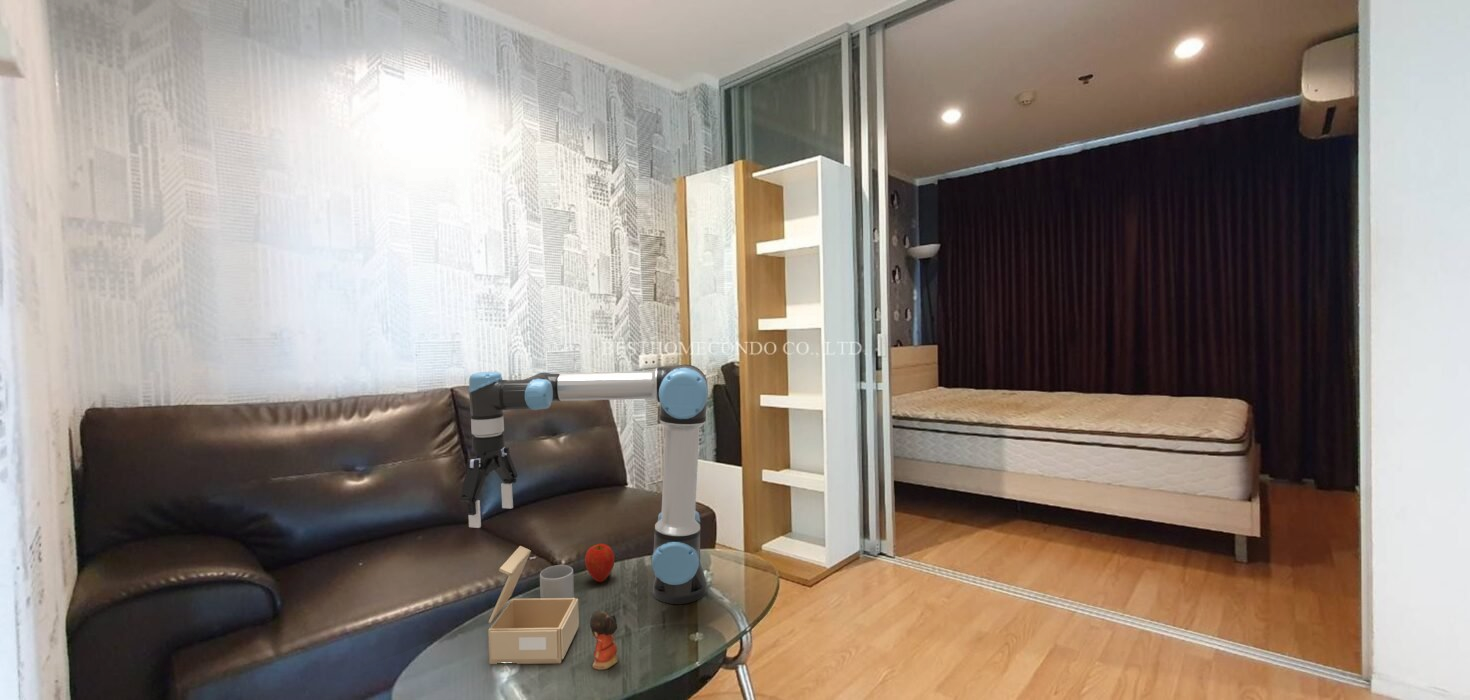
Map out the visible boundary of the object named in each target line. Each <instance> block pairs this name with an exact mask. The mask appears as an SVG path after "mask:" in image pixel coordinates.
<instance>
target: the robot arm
mask: <svg viewBox="0 0 1470 700" xmlns="http://www.w3.org/2000/svg"><path fill="white" fill-rule="evenodd" d="M468 379H469V380H468V381H469V382H468V383H469V384H468V387H469V388H468V394H469V395H468V396H469V406H470V407H469V409H470V426H471V430H470V431H471V435H472V437H471V450H472V451H473V452H475V454H476V457H475V458H474V459H473V458H469V459H467V464H466V472H465V477H464V480H463V485H462V488H461V493H460V497H459V501H460V502H466V504H467V505H466V509H467V510H466V511H467V515H468V527H469V528H477V529H479V528H481V527H482V519H481V517H482V516H481V500H479V499H478V498H479V496H480V493H481V491H482V487H483V486H484V482H485V480H486V478H487V477H488V476H489V475H490V473H491V472H493V471H494V472H496V474H497V476H498V477H499V478H500V479H501V481H502V483H501V484H500V490H501V508H502V509H513V508H514V501H513V498H514V497H513V496H514V495H513V483H514V484H516V483H517V479H518V473H517V471H516V467H515V465H514V463H513V460H512V457H511V455H510V447H509V446H506V445H505V444H506V443H505V434H504V433H503V432H504V431H505V422H504V421H505V420H504V411H513V410H514V411H516V410H517V411H520V410H521V411H525V410H529V411H530V410H533V411H537V410H546V409H549V408H550V407H551V405H552V402H561V401H562V402H565V401H567V402H568V401H603V400H604V401H609V400H610V401H611V400H613V401H614V400H654V401H655V402H656V403H660V405H659V406H660V407H659V422H660V423H661V424H662V426H664V427H665V428H664V446H663V447H664V448H663V449H664V450H663V452H664V453H663V454H664V455H663V468H662V469H663V470H662V471H663V472H662V495H661V497H662V498H661V499H662V500H661V512H659V513H658V516H657V517H658V518H657V521H656V523H655V524H654V537H653V538H654V540H653V551H652V552H653V553H652V555H651V558H650V559H651V568H652V572H653V573H654V575H655V577H654V580H653V584H652V594H653V596H654V598H655V599H656V600H658V601H660V602H661V603H665V604H672V605H684V604H690V603H693V602H696V601H698V600H700V599H701V598H703V597H704V596H705V595H706V594H707V592H706V590H707V591H708V587H707V586H708V582H707V578H706V576H705V575H706V574H705V573H704V570H703V568H702V564H701V524H700V523H701V518H700V513H699V512H698V510H696V501H697V487H698V486H697V485H698V484H697V483H698V464H699V463H698V461H699V444H700V441H699V440H700V428H701V427H702V426H703V425H704V424H705V423H706V420H707V403H708V402H707V401H708V397H709V389H708V380H707V377H706V376H705V374H704V372H703V371H702V370H701V369H700V368H699V367H697V366H696V365H691V364H687V363H686V364H684V363H683V364H678V365H672V366H661V367H660V366H659V367H656V368H654V369H653V370H649V371H647V370H646V371H645V370H644V371H643V370H641V371H611V372H610V371H606V372H605V371H603V372H602V371H601V372H597V371H596V372H566V373H564V372H563V373H551V372H548V371H547V372H539V373H537V374H534V375H533V376H531V377H526V378H524V379H509V380H508V379H503V377H502V373H501V372H499V371H483V372H482V371H481V372H475V373H472V374H471V375H470V376H469V378H468ZM705 593H706V594H705Z"/></svg>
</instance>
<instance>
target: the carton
mask: <svg viewBox="0 0 1470 700" xmlns="http://www.w3.org/2000/svg"><path fill="white" fill-rule="evenodd" d="M579 615H580V614H579V599H578V598H577V597H576V598H575V597H574V598H540V597H538V598H530V597H529V598H511V599H510V601H509V602H508V603H507V604H506V606H505V607H504V609H502V611H501V613H500V614H499V615H498V617H496V619H495V621H493V623H492V624H491V626H490V627H489V628H488V655H489V659H488V661H489V665H498V664H497V663H501V662H512V663H517V664H516V665H524V664H525V665H528V664H529V665H530V664H531V665H532V664H534V665H535V664H536V665H537V664H538V665H539V664H540V665H541V664H562V662H563V660H564V659H565V656H566V654H567V652H568V651H569V648H570V646H571V643H572V642H573V640H574V637H575V635H576V634H577V631H578V628H579V627H580V623H579V621H580V619H579Z"/></svg>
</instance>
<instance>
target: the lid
mask: <svg viewBox="0 0 1470 700" xmlns="http://www.w3.org/2000/svg"><path fill="white" fill-rule="evenodd" d="M531 553H532V550H530V549H528V548H526V547H525V546H522V545H519V546H518V548H516V550H515V551H514V552H513V553H512V554H511V555H510V556H509V557H508V559H507V560H506V561H505V562H504V563H502V565H501V566H500V568H499V570H498V571H499V572H500V573H503V574H505V575H507V576H508V577H507V579H506V581H505V584H504V585H503V588H502V590H501V593H500V594H499V597H498V599H497V602H496V604H495V606H494V608H493V611H492V613H491V616H489V617H490V618H489V619H488V623H489V624H491V623H492V622H493V620H494V619H495V618H496V616H497V615H498V614H499V613H500V611H501V609H503V607H504V606H505V605H506V603H507V602H508V600H509V599H510V598H511V597H512V595H513V593H514V591H515V588H516V586H517V584H518V581H519V579H520V577H521V575H522V572H523V570H524V569H525V565H526V564H527V561H528V559H529V557H530V554H531Z"/></svg>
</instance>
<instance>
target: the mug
mask: <svg viewBox="0 0 1470 700" xmlns="http://www.w3.org/2000/svg"><path fill="white" fill-rule="evenodd" d="M574 581H575V580H574V569H573V567H571V566H570V565H567V564H557V565H552V566H548V567H546V568H544V569H543V570H541V571H540V573H539V591H540V592H539V594H540V595H539V596H540V597H539V598H575V589H574V588H575V584H574V583H575V582H574Z"/></svg>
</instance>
